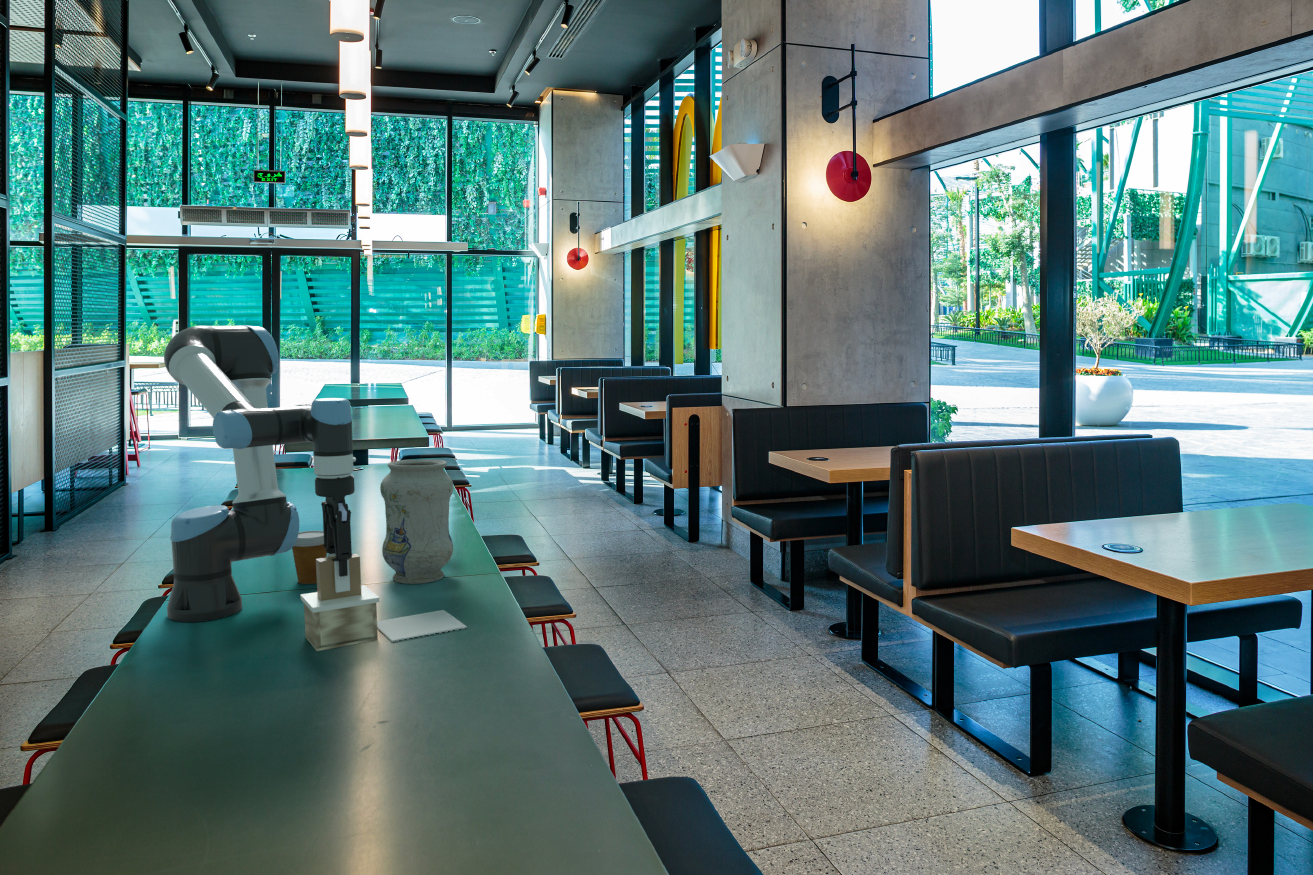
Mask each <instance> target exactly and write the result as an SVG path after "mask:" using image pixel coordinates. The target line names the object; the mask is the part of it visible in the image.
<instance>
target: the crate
mask: <svg viewBox="0 0 1313 875" xmlns="http://www.w3.org/2000/svg"><path fill="white" fill-rule="evenodd" d="M303 613H304V617H303V618H304V634H305V639H306V640H307V641H308V642H309V643H310V645H311V646H312V647H313V648H314V650H315V651H316V652H319V651H325V650H331V649H336V648H341V647H347V646H354V645H356V644H357V645H358V644H364V643H370V642H376V641H379V640H378V639H379V638H378V632H379V631H378V629H377V621H378V613H377V603H372V604H365V605H359V606H353V607H347V608H341V609H334V610H328V611H322V612H316V613H313V612H312V611H311V610H310V609H309V608H308V607H307V606H306V605H305V604H304V603H303Z"/></svg>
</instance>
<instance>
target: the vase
mask: <svg viewBox="0 0 1313 875" xmlns="http://www.w3.org/2000/svg"><path fill="white" fill-rule="evenodd" d="M447 465H448V463H447V461H446V460H444V459H443V460H442V459H428V458H427V459H421V458H418V459H401V460H395V461H390V462H388V463H387V467H388V469H389V470H390V472H389V473H388V474H386V476H384V477H383V479H382V480H381V483H380V488H379V490H380V495H381V497H382V498H383V502H384V506H385V508H384V509H385V511H384V513H385V523H386V525H385V526H386V528H385V530H386V531H385V538H384V540H383V543H382V548H381V551H382V557H383V559H384V562H385V563H386V564H387V565H388V567H390V568H391V569H392V570H394V572H395V573H394V574H393V575H392V576H391V577H392V580H393V581H394V582H397V583H399V584H400V583H401V584H407V585H416V584H417V585H418V584H427V583H434V582H437V581H440V580H441V579H443V578H444V576H445V572H443V571H442V568H444V567H445V566H446V565H447V564H448V563H449V562H450V560H451V558H452V556H453V552H454V544H453V539H452V536H451V534H450V528H449V527H450V526H449V525H450V523H449V519H450V501H451V498H452V495H453V492H454V482H453V479H452V477H451V476H450V475H449V474H448V473H447V472H446V471H445V470H444V468H446V467H447Z"/></svg>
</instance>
